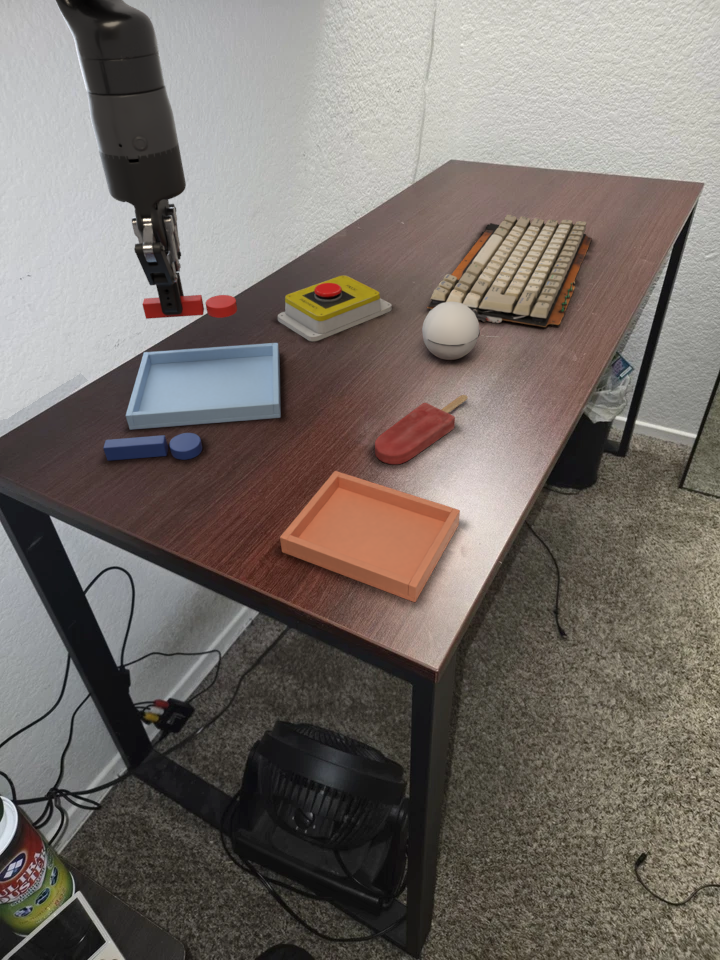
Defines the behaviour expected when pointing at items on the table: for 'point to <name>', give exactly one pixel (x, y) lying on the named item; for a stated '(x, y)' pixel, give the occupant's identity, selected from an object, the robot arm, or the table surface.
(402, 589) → the clay tray
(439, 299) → the mechanical keyboard
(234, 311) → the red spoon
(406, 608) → the table surface
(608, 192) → the table surface
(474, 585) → the table surface
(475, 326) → the seamed sphere
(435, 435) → the popsicle
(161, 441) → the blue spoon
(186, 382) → the blue tray
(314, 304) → the emergency button
